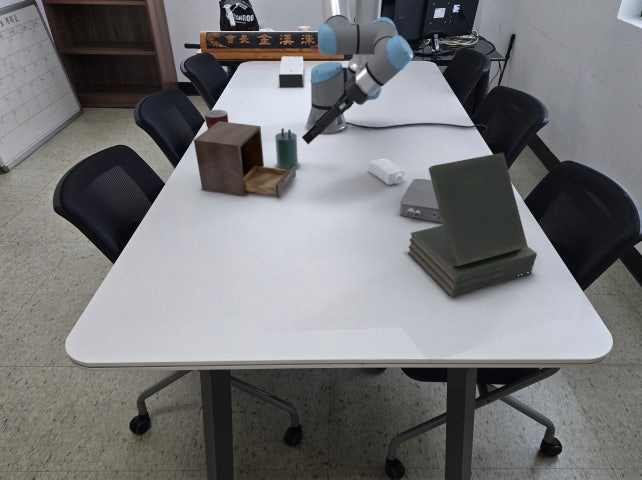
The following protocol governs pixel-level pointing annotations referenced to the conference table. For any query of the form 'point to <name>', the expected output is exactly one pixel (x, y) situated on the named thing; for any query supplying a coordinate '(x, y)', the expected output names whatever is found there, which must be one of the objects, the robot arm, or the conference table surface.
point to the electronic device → (420, 201)
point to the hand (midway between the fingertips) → (312, 132)
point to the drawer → (269, 180)
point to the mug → (215, 117)
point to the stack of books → (473, 228)
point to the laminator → (291, 71)
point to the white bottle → (387, 171)
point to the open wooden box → (228, 156)
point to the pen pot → (286, 149)
